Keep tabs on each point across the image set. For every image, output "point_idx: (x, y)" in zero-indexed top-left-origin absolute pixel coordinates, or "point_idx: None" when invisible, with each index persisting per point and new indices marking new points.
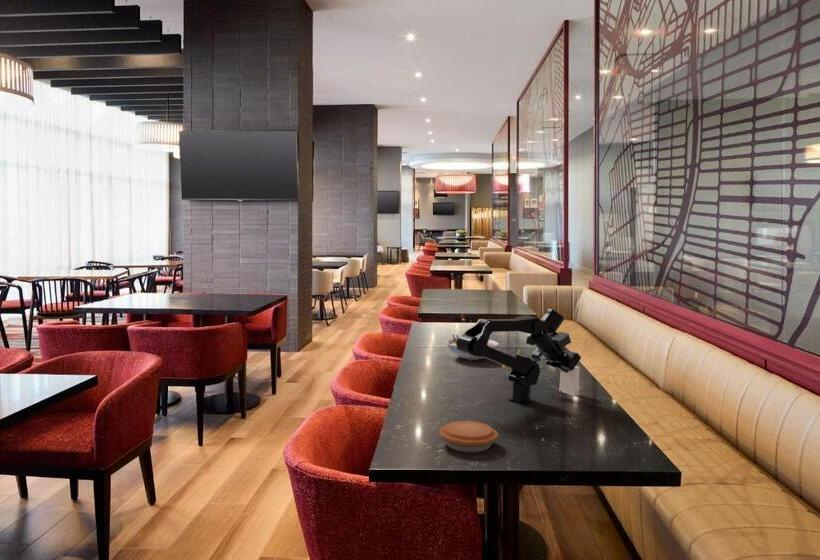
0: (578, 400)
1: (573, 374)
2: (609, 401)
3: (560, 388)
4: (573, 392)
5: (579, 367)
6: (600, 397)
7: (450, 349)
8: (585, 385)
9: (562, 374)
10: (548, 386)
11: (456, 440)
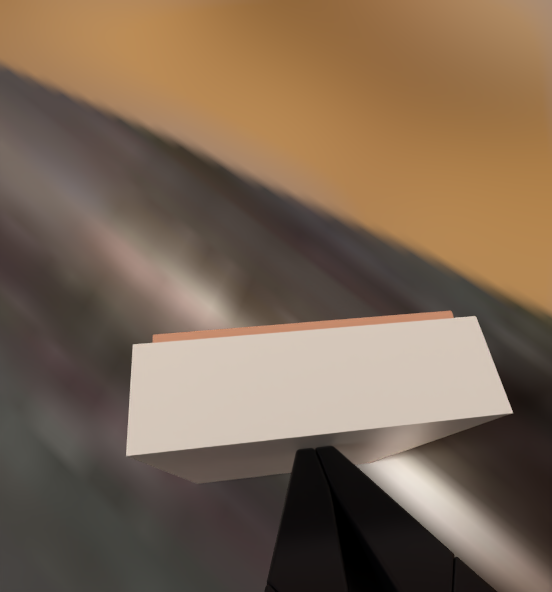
0: (497, 520)
1: (420, 439)
2: (537, 310)
3: (207, 480)
4: (369, 460)
5: (476, 325)
6: (441, 298)
7: None
8: (162, 194)
9: (210, 467)
10: (24, 471)
11: None
